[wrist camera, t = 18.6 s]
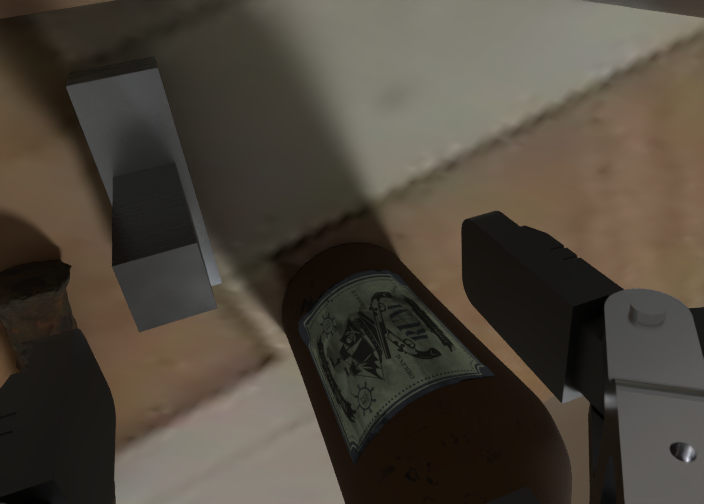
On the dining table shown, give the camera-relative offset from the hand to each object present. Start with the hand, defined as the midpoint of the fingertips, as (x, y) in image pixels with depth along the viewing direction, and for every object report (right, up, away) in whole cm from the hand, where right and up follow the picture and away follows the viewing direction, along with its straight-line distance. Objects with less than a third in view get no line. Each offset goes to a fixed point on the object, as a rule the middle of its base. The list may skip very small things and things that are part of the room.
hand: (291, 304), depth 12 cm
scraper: (-10, +5, +19) cm, 22 cm away
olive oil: (+1, -2, +28) cm, 28 cm away
